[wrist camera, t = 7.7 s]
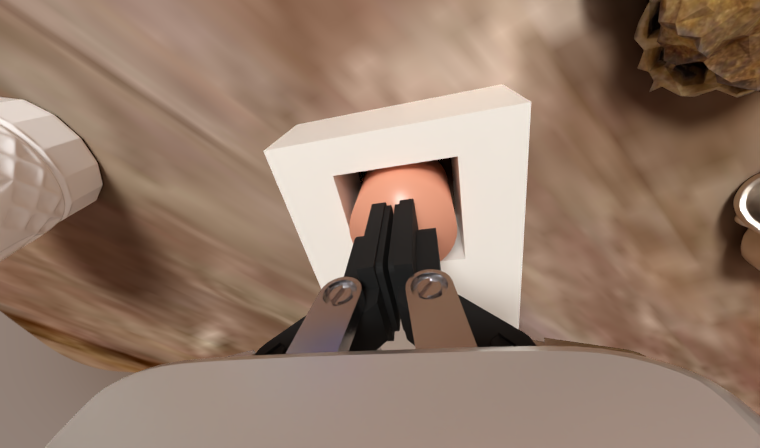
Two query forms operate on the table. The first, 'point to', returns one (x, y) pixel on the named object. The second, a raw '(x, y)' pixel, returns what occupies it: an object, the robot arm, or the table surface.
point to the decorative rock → (701, 46)
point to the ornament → (749, 219)
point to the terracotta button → (410, 183)
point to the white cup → (40, 173)
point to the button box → (413, 145)
